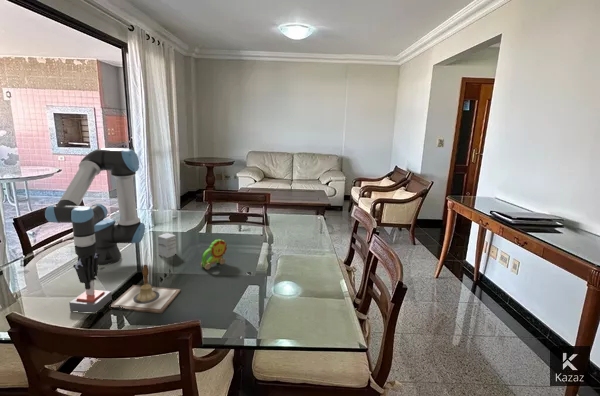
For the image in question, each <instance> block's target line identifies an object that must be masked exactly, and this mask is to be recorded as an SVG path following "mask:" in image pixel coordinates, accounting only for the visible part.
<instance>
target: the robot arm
mask: <svg viewBox="0 0 600 396" xmlns="http://www.w3.org/2000/svg"><path fill="white" fill-rule="evenodd" d="M139 169H140V160H139V157H138V154H137V153H136V151H135V150H133V149H131V148H130V149H127V148H114V147H113V148H111V147H109V148H107V147H102V148H96V149H94V150H93V151H92V150H91V152H89V153H88V154H86V155H85V156H84V157H83V158H82V159H81V160H80V162H79V164H78V170H77V171H76V172H75V175H74V176H73V178H72V180H71V181H70V183H69V185H68V186H67V188H66V189H65V191H64V193H63V195H62V196H61V198H60V199H59V200H58V202H57V204H52V205H49V206H47V207H46V209H45V210H44V216H45V219H46V221H47V222H49V223H54V224H55V223H56V224H71V225H72V232H73V244H74V252H75V253H74V254H75V255H76V256H77V262H76V264H73V268H74V269H75V272H76V275H77V278H78V281H79V283H80V284H84V289H85V291H86V295H94V294H95V291H94V290H95V280H97V276H98V273H99V270H98V269H99V266H106V265H111V264H114V263H117V262H119V261H120V260H121V259H122V253H121V251H120V249H119V247H118V244H139V243H141V241H143V238H144V235H145V229H146V225H145V223H144V222H142V221H141V218H140V217H138V213H137V205H136V193H135V182H134V177H135V175H136V174H137V172H138V171H139ZM103 171H110V174H111V176H112V177H113V178H114V180H115V188H116V189H115V190H116V196H117V198H116V199H117V205H118V214H119V218H118V220H117V221H116V219H113V218H107V216H108V213H109V212H108V209H107V207H106V206H105V205H103V204H101V203H96V204H92V205H81V203H82V201H83V199H84V198H85V196H86V194H87V192H88V190H89V188H90V186H91V185H92V183H93V181H94V179H95V178H96V176H98V175H99V174H100V173H101V172H103ZM105 218H107V219H105Z"/></svg>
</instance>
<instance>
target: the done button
mask: <svg viewBox="0 0 600 396" xmlns="http://www.w3.org/2000/svg"><path fill="white" fill-rule="evenodd" d="M96 290H97V289H94V291H95V294H94V295H86V292H85V291H84V292H85V293H84V294H82V293H81V294H82V295H81V296H79V295H78V296H79V297H78V296H77V297H78V298H77V301H82V302H93V303H94V302H95V301H96V300H97V299H99V298H100V297H101V296H102V295H104V291H105V290H102V291H96Z"/></svg>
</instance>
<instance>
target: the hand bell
mask: <svg viewBox="0 0 600 396" xmlns="http://www.w3.org/2000/svg"><path fill="white" fill-rule="evenodd" d="M149 271H150V270H149V267H148V265H147V264H144V265H143V268H142V276H143V284H142V285H140V286H141V290H140V293H139V295H138V296H137V300H138V301H141V302H145V301H150V300H152V299H154V298H155V297H156V293H154V292H153V291H152V287H153V286H152V285H151V284H149V280H148V277H149Z"/></svg>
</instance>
